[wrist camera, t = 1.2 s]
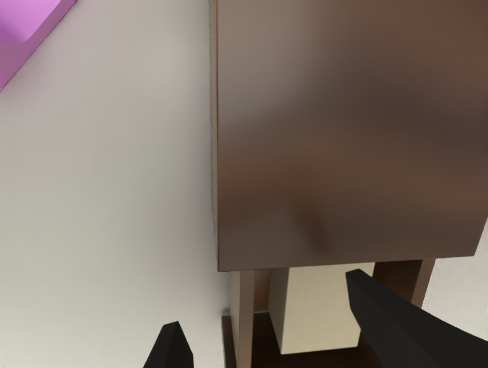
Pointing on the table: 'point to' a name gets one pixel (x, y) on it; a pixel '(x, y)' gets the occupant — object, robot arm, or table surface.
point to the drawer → (313, 362)
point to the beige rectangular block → (313, 307)
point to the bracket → (25, 30)
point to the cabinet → (347, 130)
